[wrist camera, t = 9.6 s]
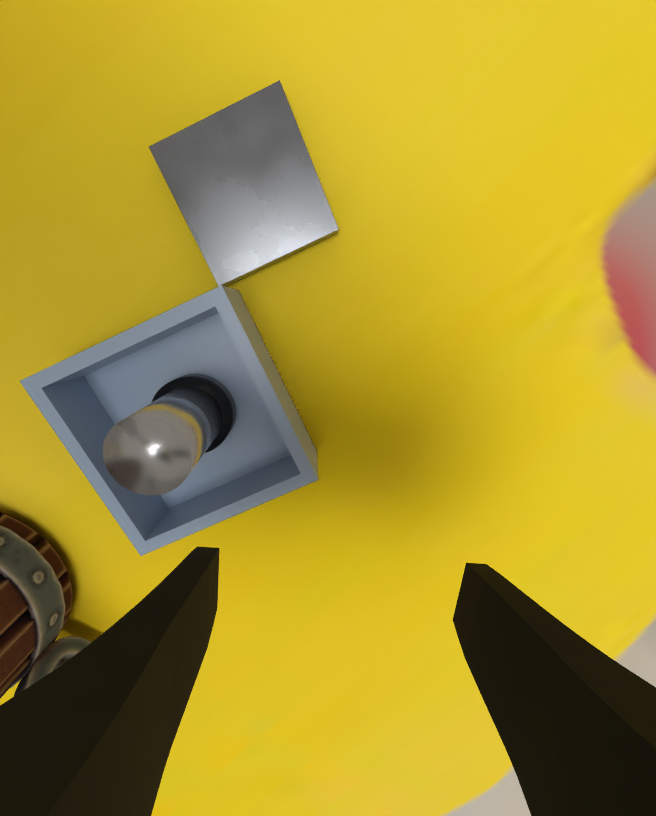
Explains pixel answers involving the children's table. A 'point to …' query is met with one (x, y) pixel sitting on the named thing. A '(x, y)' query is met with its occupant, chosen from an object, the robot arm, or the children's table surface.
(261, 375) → the bin
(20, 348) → the children's table surface
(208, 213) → the grey metal square plate
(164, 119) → the children's table surface
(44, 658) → the mug
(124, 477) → the strut
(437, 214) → the children's table surface
